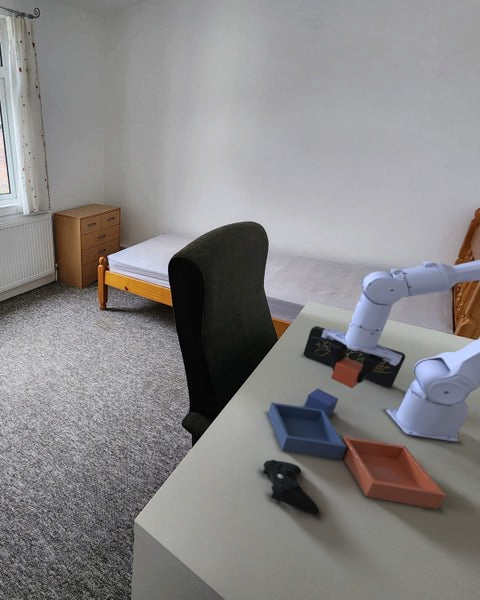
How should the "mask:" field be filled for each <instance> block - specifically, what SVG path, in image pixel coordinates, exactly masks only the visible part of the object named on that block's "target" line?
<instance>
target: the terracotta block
mask: <svg viewBox="0 0 480 600" xmlns="http://www.w3.org/2000/svg"><path fill="white" fill-rule="evenodd" d="M362 366H363V365H362V364H360V363H357V362H355V361H353V360H350V359H348V358H344V359H342V360H341V361H339V362H337V363H336V366H335V369H334V371H332V374H331V377H330V379H331V380H334V381H335V382H337V383H340V384H342V385H344V386H346V387H348V388H351V389H353V388H355V387H357V386H358V385H359V384H360V383H358V382H357V379H358V376H359V374H360V372H361V370H362Z"/></svg>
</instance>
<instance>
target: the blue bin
mask: <svg viewBox="0 0 480 600" xmlns="http://www.w3.org/2000/svg"><path fill="white" fill-rule="evenodd" d="M267 416H268V418H269V420H270V423H271V425H272V427H273V430H274V432H275V435H276V437H277V440H278V444H279V445H280V447H281V448H280V449H281V450H282V451H285V452H291V453H292V452H293V453H299V454H304V455H310V456H316V457H322V458H329V459H336V460H342V459H343V454H344V452H345V450H346V445H345V444H344V442H343V440H342V439H343V438H342V437H341V436H340V434H339V432H338V430H337V429H336V428H335V426H334V424H333V423H332V421H331V419H330V418H329V417H328V416H327V415H326V413H325V412H324V410H322V409H315V408H307V407H304V406H300V405H293V404H286V403H279V402H278V403H277V402H271V403H270V406H269V410H268V412H267Z"/></svg>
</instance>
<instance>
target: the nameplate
mask: <svg viewBox="0 0 480 600" xmlns="http://www.w3.org/2000/svg"><path fill="white" fill-rule="evenodd" d="M325 329H326V328H325V327H321V326H319V325H315V326H313V327H312V328H311V329H310V331H309V335H308V338H307V340H306V344H305V347H304V350H303V353H302V355H303V356H304V357H305V358H308V359H309V360H313V361H316V362H318V363H322V364H323V365H326V366H329V367H331V368H333V359H332V354H331V351H330V348H329V345H330V344H331V343H332V342H333V340H331V339H329V338H327V339H325V338H323V337H322V334H323V331H324V330H325ZM381 346H382V347H384V348H386V349H388V350H390V351H392V352H394V353H396V354H399V355H401V356H402V357H401V360H400V362H399V363H398V364H397V365H396V366H394V365H392V364H390V362H388V361H385V360H384V361H383V362H381V363H380V364H378V365H377V366H376V367H375V368H374V369H373V370H372V371H371V372H370V373H369V374H368V375H367V376H366V378H365V379H364V380H367V381H369V382H370V383H374V384H376V385H379V386H382V387H385V388H391V387H393V385H394V383H395V381H396V379H397V376H398V374H399V372H400V370H401V368H402V366H403V363H404V362H405V360H406V354H405V353H404V352H402V351H399V350H396V349H392V348H389V347H386V346H383V345H381ZM369 355H370V354H367V353H364V352H362V351H359V350H358V351H354V350H352V349H349V348H348V349H347V351H346V353H345V356H344V358H348V359H350V360H353V361H355V362H357V363H360V364H362V365H363V362H364V358H366V357H367V356H369ZM344 358H343V359H344Z"/></svg>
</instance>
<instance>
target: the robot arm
mask: <svg viewBox="0 0 480 600" xmlns="http://www.w3.org/2000/svg"><path fill="white" fill-rule="evenodd" d="M474 281H480V259H478V260H473V261H469V262H465V263H459V264H454V265H448V264H445V263H443V262H441V261H440V262H439V261H438V262H433V261H432V260H428V261H423V262H422V264H421V265H418V266H412V267H407V268H401V269H398V268H391V269H390V271H389V272H388V271H384V270H377V271H373V272H371V273H369V274H368V275H366V276H365V277H364V278H363V279H362V280H361V282H360V286H361V288H362V290H363V291H362V292H361V295H360V297H359V300H358V302H357V303H356V306H355V309H354V312H353V314H352V318H351V320H350V323H349V326H348V328H347V331H346V332H343V331H338V330H334V329H332V328H328V327H327V328H325V330H324V331H323V334H322V337H323V338H325V339H327V338H329V339H331V340H333V342H332V343H331V344H330V345H329V348H330V351H331V354H332V359H333V367H332V370H331V371H332V372H334V369H335V366H336V363H337V362H339V361H341V360H342V359H343V358H344V356H345V353H346V351H347V349H348V348H349V349H352V350H354V351H358V350H359V351H362V352H364V353H367V354H370V355H369V356H367V357H366V358H364V362H363V366H362V370H361V372H360V374H359V376H358V379H357V382H358V383H359V384H361V383H363V382H364V381H365V380H366V379H365V378H366V376H367V375H368V374H369V373H370V372H371V371H372V370H373V369H374V368H375V367H376V366H377V365H378V364H380V363H381V362H383V361H384V360H385V361H388V362H390V364H392V365H394V366H396V365H397V364H398V363H399V362H400V360H401V357H402V356H401V355H399V354H396V353H394V352H392V351H390V350H388V349H386V348H387V347H386V348H384V347H385V346H383V345H381V344H378V343H379V341H380V339H381V336H382V334H383V331H384V329H385V326H386V323H387V321H388V319H389V317H390V314H391V311H392V307H393V305H394V304H395V303H397V302H399V301H400V300H401V299H403V298H408V297H415V296H421V295H422V296H423V295H428V294H435V293H441V292H448V291H450V289H452V288H453V287H454V286H455V285H456V284H458V283H459V284H460V283H467V282H474ZM382 346H383V347H382ZM412 368H413V374H414V376H415V379H414V380H413V381H412V382H411V383H410V385H409V387H408V389H407V391H406V393H405V395H404V398H403V399H402V402H401V403H400V406H399V408H398V409H390V408H387V409H386V412H387V414H388V415H389V416H390V417H391V418H392V419H393V421H394V422H395V423H396V424H397V426H399V427H400V429H401V430H402V431H403V432H404V433H405V434H406V435H408V436H413V437H414V436H415V437H421V438H427V439H435V440H441V441H447V442H448V441H449V442H453V443H454V442H455V443H457V442H459V439H458V438H457V435H458V433H459V432H460V430H461V428H462V427H463V425H464V424H465V421H466V420H467V418H468V416H469V407H468V404H467V403H466V401H465V400H467V398H468V397H469V395H470V394H471V393H472V392H474V391H475V390H478V389H479V388H480V337H479V338H478V339H475V340H474V341H472V342H470V343H469V344H467V345H465V346H464V347H462V348H460V349H458V350H456V351H444V352H440V353H439V354H436V355H435V356H431V357H424V358H422V359H420V360H418V361H417V362H416V363H415V364H414V365H413V367H412Z"/></svg>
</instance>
